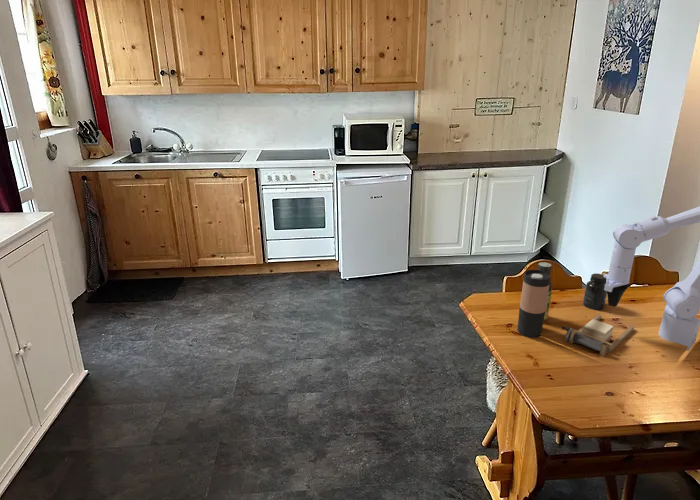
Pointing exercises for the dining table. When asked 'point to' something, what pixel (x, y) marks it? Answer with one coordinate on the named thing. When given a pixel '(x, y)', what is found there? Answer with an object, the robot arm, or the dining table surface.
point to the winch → (585, 341)
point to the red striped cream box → (598, 330)
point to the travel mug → (533, 303)
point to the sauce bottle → (547, 268)
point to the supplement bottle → (595, 292)
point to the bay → (610, 345)
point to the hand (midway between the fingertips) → (612, 305)
